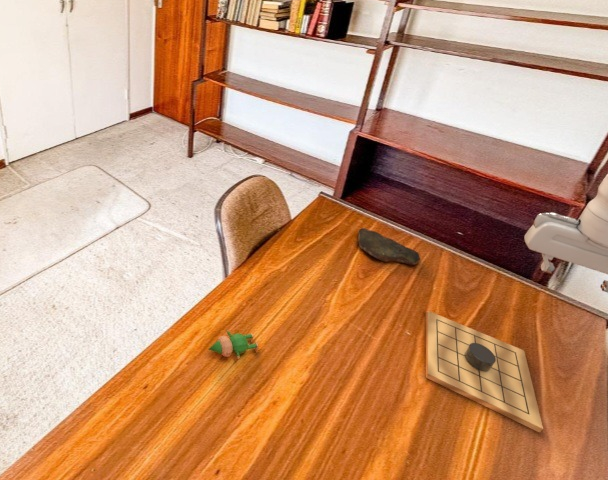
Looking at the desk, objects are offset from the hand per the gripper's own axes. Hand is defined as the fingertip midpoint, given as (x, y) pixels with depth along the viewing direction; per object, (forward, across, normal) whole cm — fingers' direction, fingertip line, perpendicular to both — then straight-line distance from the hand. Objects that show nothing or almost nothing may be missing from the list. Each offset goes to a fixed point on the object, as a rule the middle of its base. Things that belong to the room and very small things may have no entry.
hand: (575, 280), depth 83 cm
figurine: (+27, -59, -36) cm, 74 cm away
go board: (+27, -9, -7) cm, 29 cm away
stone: (+27, -30, +22) cm, 46 cm away
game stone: (+26, -9, -7) cm, 28 cm away
